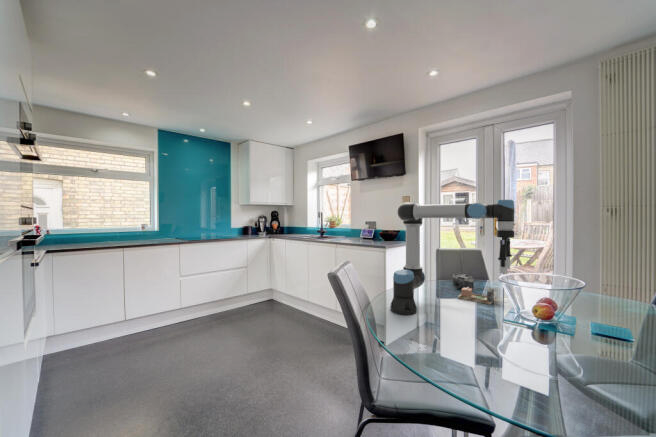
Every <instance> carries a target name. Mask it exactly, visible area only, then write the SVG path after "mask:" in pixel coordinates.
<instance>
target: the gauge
mask: <svg viewBox="0 0 656 437" xmlns="http://www.w3.org/2000/svg"><path fill="white" fill-rule="evenodd" d="M460 289H461V290H460V291H461V293H460V294H461V295H462V296H467V297H471V296H472V293H473V290H472V289H471V288H469V287H467V288H465V287H464V288H460Z"/></svg>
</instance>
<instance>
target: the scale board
mask: <svg viewBox="0 0 656 437" xmlns="http://www.w3.org/2000/svg"><path fill="white" fill-rule="evenodd" d="M494 292H495V290H494V288H490V287H489V289H488V290H487V291H486V295H483V294H478V293H477V294H476V293H473V292H472V296H471V297H467V296H462V295H461V293H460V294H458V295H457V299H458V300H464V301H470V302H474V303H481V304H484V305H485V304H486V305H492V304H493V302H494V301H495V297H494V294H495V293H494Z"/></svg>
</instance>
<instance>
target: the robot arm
mask: <svg viewBox="0 0 656 437" xmlns="http://www.w3.org/2000/svg"><path fill="white" fill-rule="evenodd" d="M396 211H397V212H396V214H397V217H398V219H400V220H401V221H403V222H402V224H403V225H404V226H405V264H404V265H403V266H402V267H403V269H397V270H395V271H394V273H393V277H392V278H393V281H392V282H393V286H392V287H393V290H392V291H393V297H392V300H391V303H390V312H392V313H394V314H398V315H403V316H407V315H408V316H410V315H415V314H416V313H417V311H418V308H417V305H416V302H415V296H414V295H415V294H414V292H415V290H416V289H417V288H420V287H421V286H423V285H424V283H425V280H426V275H425V273H424V271H423V266H422V265H421V252H420V251H421V226H423V219H475V220H477V219H496V224H495V225H496V229H497V230H496V237H497V238H501V239H500V241H499V244H500V246H499V257H498V258H497V260H499V273H500V274H506V275H507V270H511V258H512V256H513V255H512V254H511V239H514V238H515V231H514V230H515V226H516V225H517V224H516V223H515V201H514V200H513V199H497V200H496V202H495V203H481V202H473V203H447V204H446V203H445V204H443V203H442V204H441V203H440V204H420V203H418V202H410V201H409V202H408V201H407V202H406V201H405V202H403V203H401V204H399V206H398V207H397V210H396Z"/></svg>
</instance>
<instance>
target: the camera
mask: <svg viewBox="0 0 656 437" xmlns="http://www.w3.org/2000/svg"><path fill="white" fill-rule="evenodd" d="M452 286H454V287H455V288H456V289H462V288H464V287H465V288H467V287H469V288H471V289H472V291H474V287H475V286H474V277H473V276H468V274H465V273H463V274H461V273H457V272H456V273H455V272H454V273H453V274H452Z"/></svg>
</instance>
